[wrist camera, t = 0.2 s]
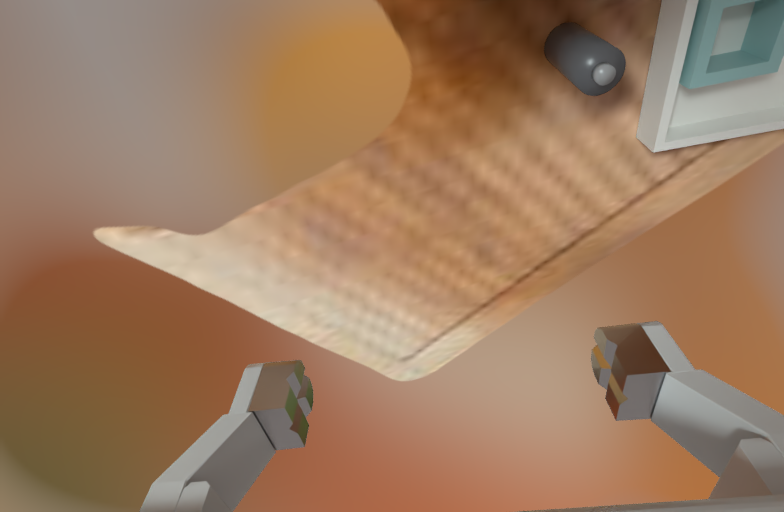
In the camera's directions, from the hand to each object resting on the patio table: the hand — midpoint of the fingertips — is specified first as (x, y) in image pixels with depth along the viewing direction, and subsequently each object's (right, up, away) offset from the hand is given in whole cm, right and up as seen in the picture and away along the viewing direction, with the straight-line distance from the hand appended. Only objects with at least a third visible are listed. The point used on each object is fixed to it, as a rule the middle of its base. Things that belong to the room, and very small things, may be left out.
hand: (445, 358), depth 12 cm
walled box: (+33, +26, +30) cm, 52 cm away
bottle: (+16, +24, +31) cm, 42 cm away
